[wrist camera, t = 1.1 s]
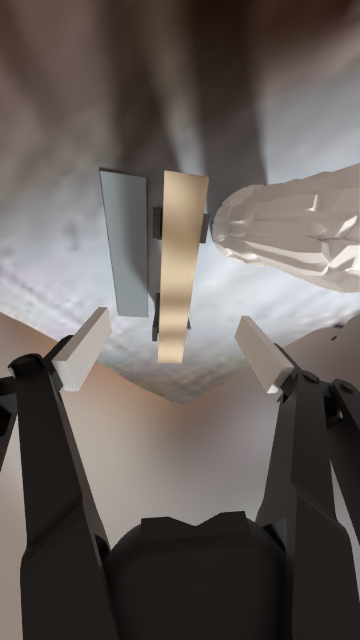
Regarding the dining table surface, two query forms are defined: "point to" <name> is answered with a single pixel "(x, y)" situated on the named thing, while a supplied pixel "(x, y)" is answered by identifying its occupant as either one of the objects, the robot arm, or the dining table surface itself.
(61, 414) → the robot arm
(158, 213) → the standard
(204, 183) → the rail
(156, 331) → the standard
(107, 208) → the mat
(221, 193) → the dining table surface
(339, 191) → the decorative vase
